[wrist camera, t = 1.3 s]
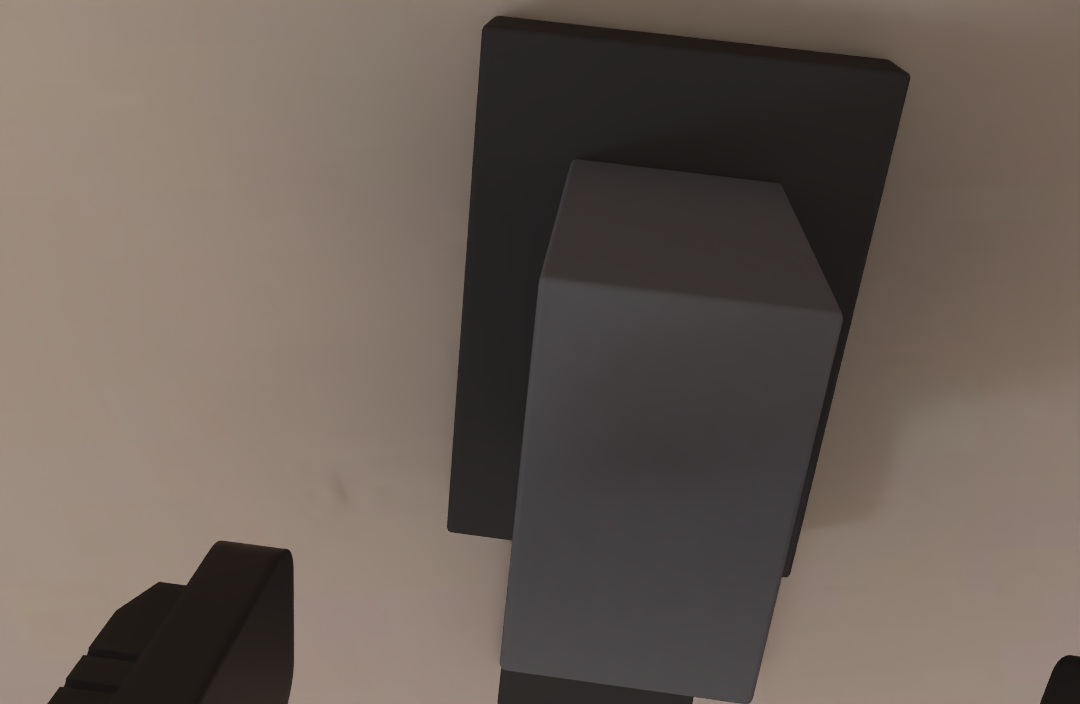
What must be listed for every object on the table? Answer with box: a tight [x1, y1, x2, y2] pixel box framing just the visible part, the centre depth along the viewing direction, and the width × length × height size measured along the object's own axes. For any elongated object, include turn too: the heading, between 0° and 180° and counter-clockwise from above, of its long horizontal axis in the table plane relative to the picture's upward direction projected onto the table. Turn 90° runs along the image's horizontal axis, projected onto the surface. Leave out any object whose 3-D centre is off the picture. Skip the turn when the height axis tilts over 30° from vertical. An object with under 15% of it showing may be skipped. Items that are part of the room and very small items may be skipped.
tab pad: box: [447, 16, 910, 704], centre depth 18 cm, size 14×7×8 cm, turn 174°
